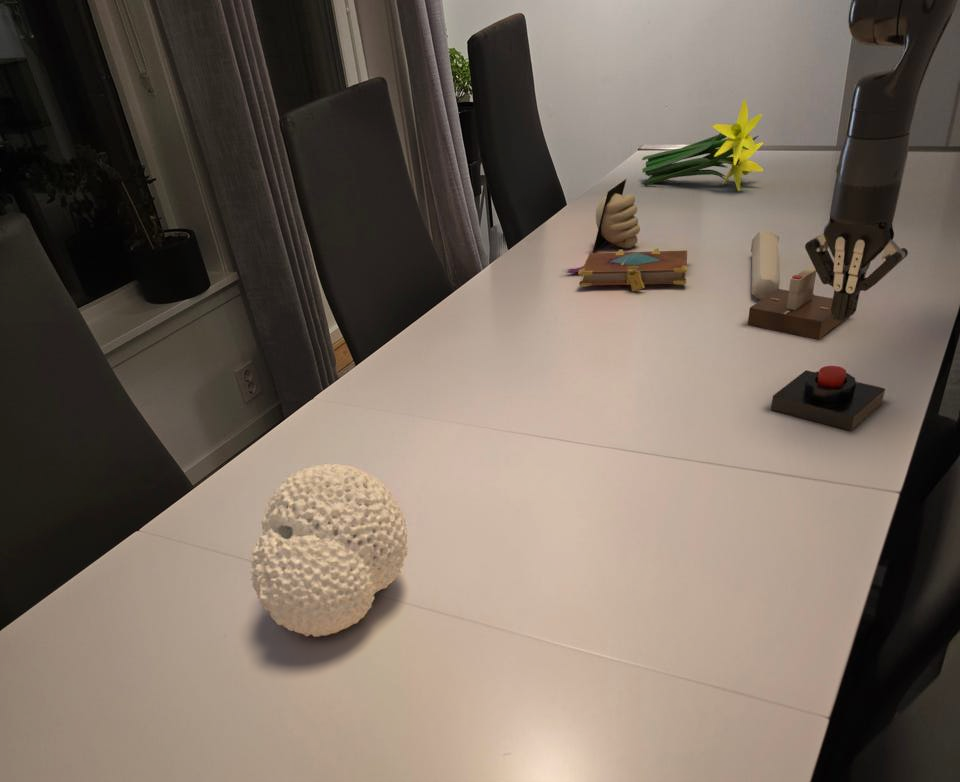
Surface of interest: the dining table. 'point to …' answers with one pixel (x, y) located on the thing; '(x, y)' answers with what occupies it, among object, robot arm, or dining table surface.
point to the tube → (765, 264)
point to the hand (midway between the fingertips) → (841, 318)
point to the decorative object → (617, 219)
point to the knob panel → (794, 315)
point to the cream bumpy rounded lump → (327, 548)
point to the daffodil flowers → (710, 153)
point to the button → (831, 376)
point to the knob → (801, 288)
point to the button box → (828, 400)
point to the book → (634, 268)
